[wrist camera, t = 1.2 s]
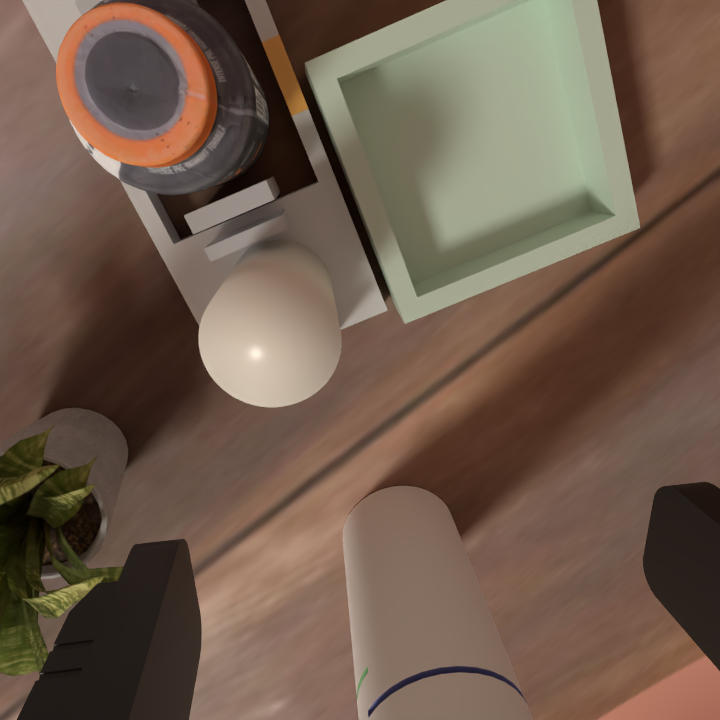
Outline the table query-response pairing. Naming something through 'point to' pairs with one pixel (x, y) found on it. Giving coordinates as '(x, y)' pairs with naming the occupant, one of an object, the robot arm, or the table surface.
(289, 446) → the table surface
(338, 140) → the tray
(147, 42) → the pill bottle
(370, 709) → the cylindrical container
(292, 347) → the block
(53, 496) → the house plant
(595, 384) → the table surface
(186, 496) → the table surface
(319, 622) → the table surface
